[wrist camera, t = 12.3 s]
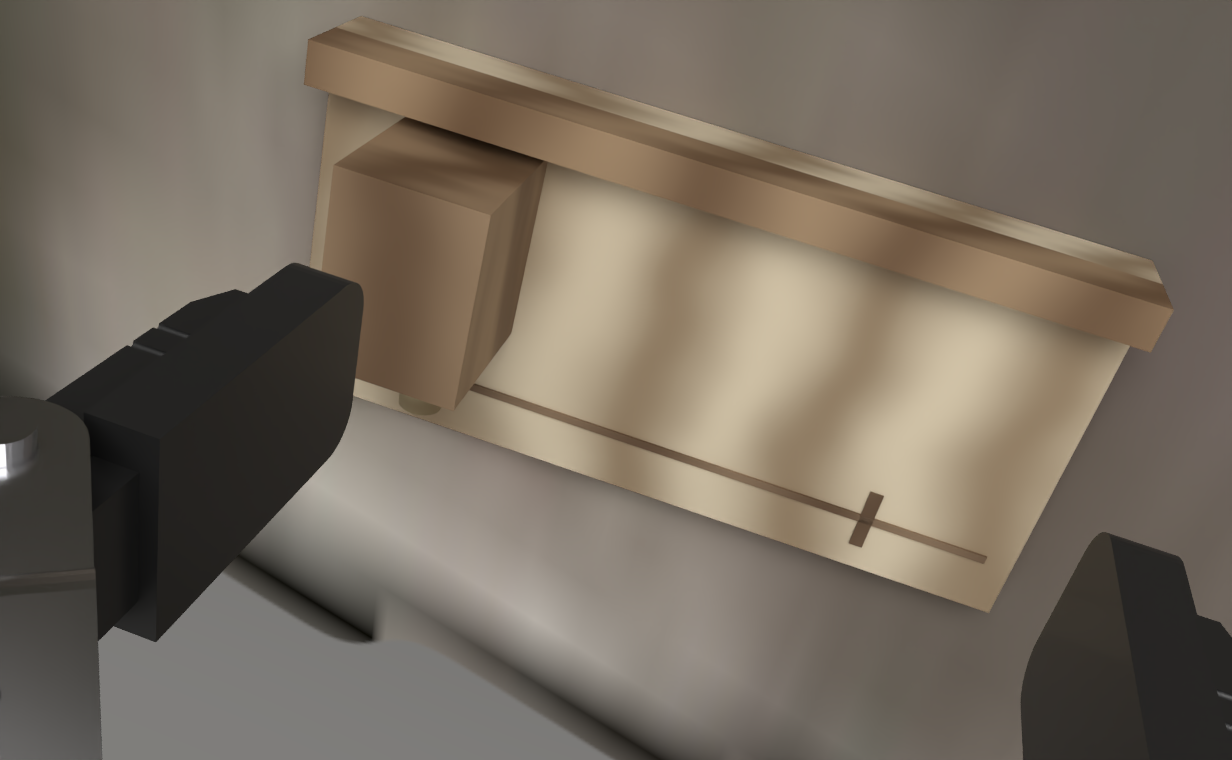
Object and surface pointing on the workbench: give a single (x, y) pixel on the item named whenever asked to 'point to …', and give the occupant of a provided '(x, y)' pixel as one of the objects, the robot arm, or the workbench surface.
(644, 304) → the maple board
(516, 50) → the workbench surface
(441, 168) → the brown boxy piece
